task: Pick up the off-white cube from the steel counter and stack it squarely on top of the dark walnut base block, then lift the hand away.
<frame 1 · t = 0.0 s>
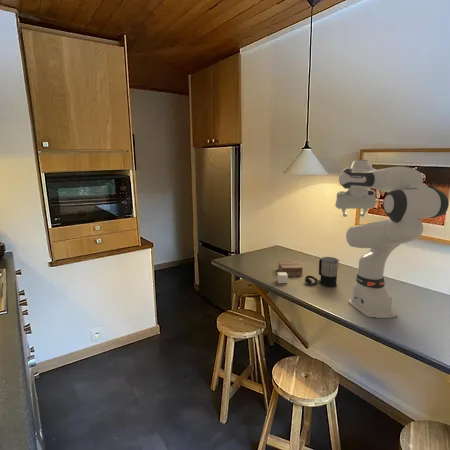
hand: (353, 216, 169), 39 cm above the breakfast bar, tool pointing down, fingers open, 8 cm apart
walnut base: (289, 272, 195), on the breakfast bar
cube: (282, 282, 180), on the breakfast bar
milk frother: (320, 284, 177), on the breakfast bar
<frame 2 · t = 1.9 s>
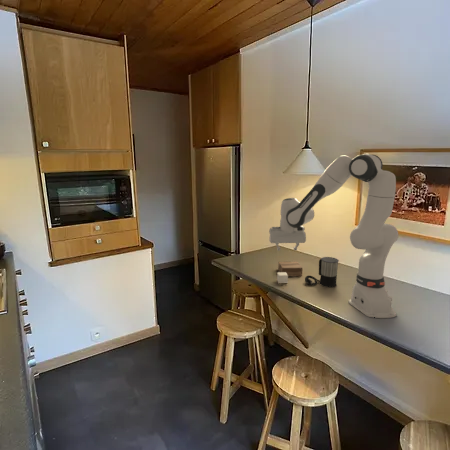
hand: (287, 250, 179), 18 cm above the breakfast bar, tool pointing down, fingers open, 8 cm apart
nothing on the breakfast bar moved.
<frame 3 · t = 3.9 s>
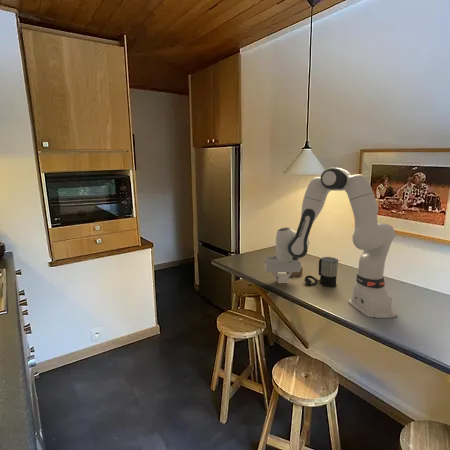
hand: (282, 279, 180), 2 cm above the breakfast bar, tool pointing down, fingers closed on cube, 5 cm apart
cube: (282, 281, 180), on the breakfast bar, touching gripper
everything else where it was.
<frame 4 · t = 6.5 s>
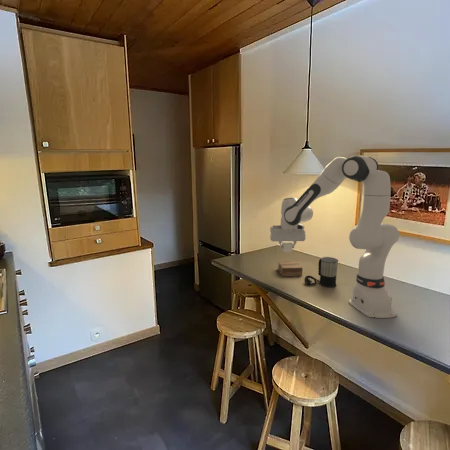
hand: (287, 248, 185), 18 cm above the breakfast bar, tool pointing down, fingers closed on cube, 5 cm apart
cube: (286, 250, 185), point 16 cm above the breakfast bar, touching gripper
everything else where it was.
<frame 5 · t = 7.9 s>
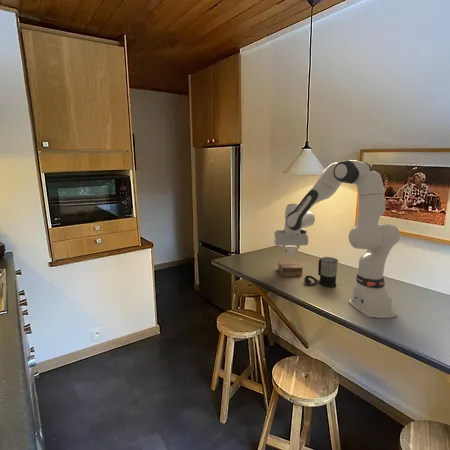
hand: (290, 252, 193), 13 cm above the breakfast bar, tool pointing down, fingers closed on cube, 5 cm apart
cube: (290, 254, 193), point 11 cm above the breakfast bar, touching gripper
everything else where it was.
when the fingers open (8 cm above the breakfast bar, at t = 9.1 s): cube drops 1 cm, resting on walnut base.
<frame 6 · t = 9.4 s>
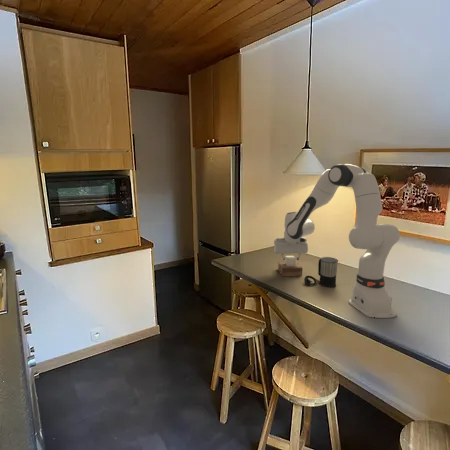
hand: (290, 259, 193), 8 cm above the breakfast bar, tool pointing down, fingers open, 7 cm apart
cube: (290, 264, 194), point 5 cm above the breakfast bar, touching walnut base
everything else where it was.
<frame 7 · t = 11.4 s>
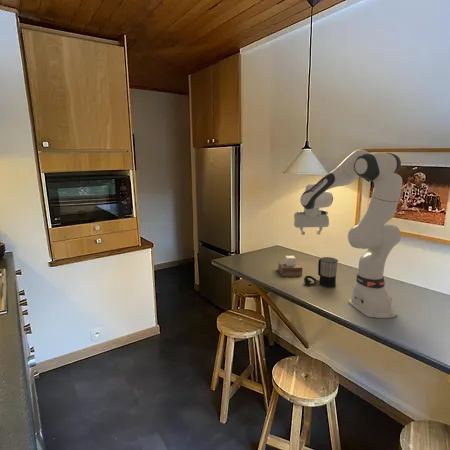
hand: (310, 234, 188), 25 cm above the breakfast bar, tool pointing down, fingers open, 8 cm apart
nothing on the breakfast bar moved.
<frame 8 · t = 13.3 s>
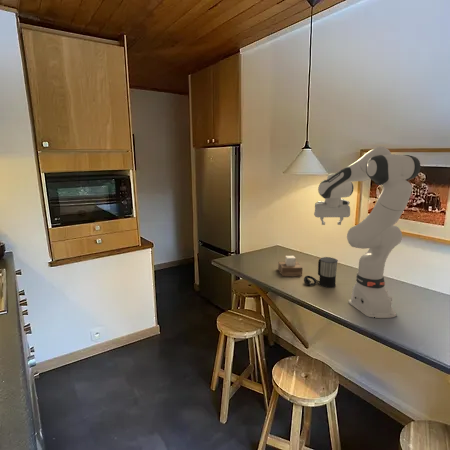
hand: (331, 224, 185), 31 cm above the breakfast bar, tool pointing down, fingers open, 8 cm apart
nothing on the breakfast bar moved.
at the end: cube 0.0 cm off-centre on the walnut base, point 5.0 cm above the walnut base's base; cube tilted 0°; the gripper is holding nothing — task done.
